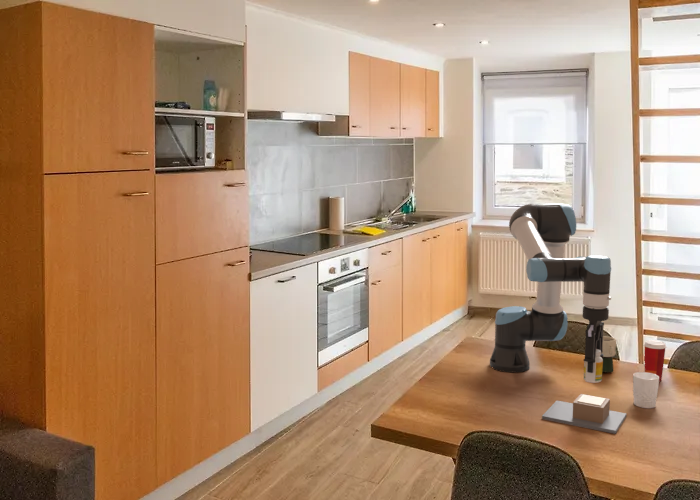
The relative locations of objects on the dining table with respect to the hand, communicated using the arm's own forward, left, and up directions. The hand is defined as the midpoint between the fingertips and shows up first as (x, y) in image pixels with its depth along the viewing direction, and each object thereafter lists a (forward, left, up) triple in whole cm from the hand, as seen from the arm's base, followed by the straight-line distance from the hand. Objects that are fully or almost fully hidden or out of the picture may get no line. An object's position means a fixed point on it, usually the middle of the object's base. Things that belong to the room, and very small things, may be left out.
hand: (592, 379), depth 211 cm
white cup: (+12, +22, -13) cm, 28 cm away
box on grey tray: (-2, 0, -13) cm, 13 cm away
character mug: (-7, +51, -13) cm, 53 cm away
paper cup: (+10, +51, -13) cm, 54 cm away
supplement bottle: (0, 0, 0) cm, 0 cm away
